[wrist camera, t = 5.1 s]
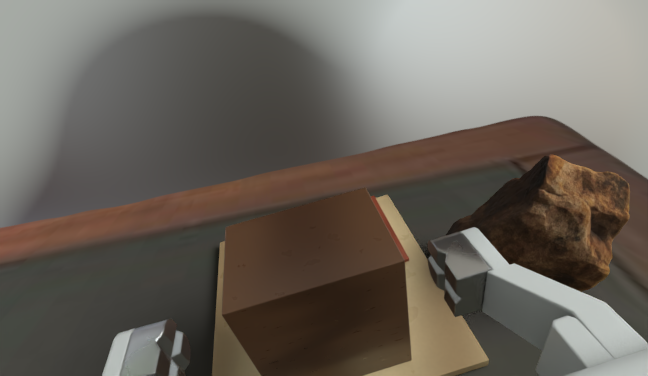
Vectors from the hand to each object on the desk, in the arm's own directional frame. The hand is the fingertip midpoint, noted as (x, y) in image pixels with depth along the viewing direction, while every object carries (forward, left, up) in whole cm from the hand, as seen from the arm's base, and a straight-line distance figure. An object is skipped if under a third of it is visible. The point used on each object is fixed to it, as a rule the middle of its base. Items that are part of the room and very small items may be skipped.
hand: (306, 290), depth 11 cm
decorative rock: (+14, +14, -18) cm, 26 cm away
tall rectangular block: (-2, +8, -17) cm, 19 cm away
